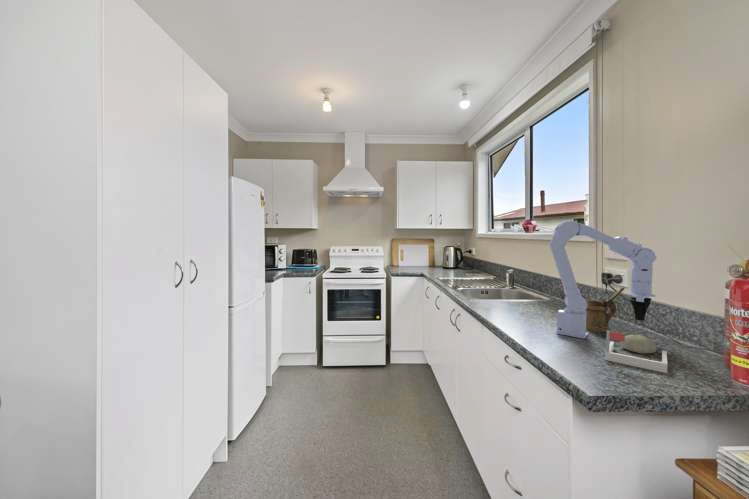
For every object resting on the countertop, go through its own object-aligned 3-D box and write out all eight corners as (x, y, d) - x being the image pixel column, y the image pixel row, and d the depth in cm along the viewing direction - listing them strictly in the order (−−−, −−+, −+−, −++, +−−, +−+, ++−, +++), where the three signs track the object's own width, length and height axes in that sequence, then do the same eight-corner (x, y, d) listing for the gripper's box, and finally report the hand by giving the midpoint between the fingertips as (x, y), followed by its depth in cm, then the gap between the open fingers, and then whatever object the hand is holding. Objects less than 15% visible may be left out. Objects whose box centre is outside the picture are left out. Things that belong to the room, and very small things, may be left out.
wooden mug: (622, 335, 121) (624, 289, 120) (580, 329, 129) (582, 285, 128) (622, 330, 128) (624, 286, 127) (582, 324, 136) (583, 283, 135)
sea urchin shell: (666, 350, 100) (647, 332, 101) (646, 366, 102) (626, 348, 103) (648, 341, 109) (630, 324, 110) (629, 355, 111) (611, 338, 111)
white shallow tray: (605, 360, 97) (606, 331, 97) (610, 348, 107) (611, 322, 107) (667, 373, 88) (668, 341, 88) (666, 359, 98) (667, 330, 98)
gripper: (656, 284, 105) (654, 324, 106) (656, 280, 116) (655, 316, 117) (629, 282, 110) (627, 321, 110) (631, 278, 121) (630, 313, 121)
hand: (640, 318), depth 114 cm, fingers open, 5 cm apart
